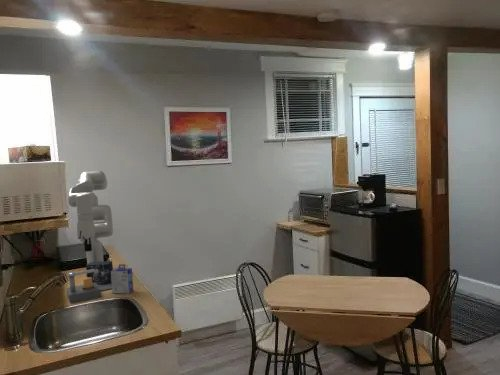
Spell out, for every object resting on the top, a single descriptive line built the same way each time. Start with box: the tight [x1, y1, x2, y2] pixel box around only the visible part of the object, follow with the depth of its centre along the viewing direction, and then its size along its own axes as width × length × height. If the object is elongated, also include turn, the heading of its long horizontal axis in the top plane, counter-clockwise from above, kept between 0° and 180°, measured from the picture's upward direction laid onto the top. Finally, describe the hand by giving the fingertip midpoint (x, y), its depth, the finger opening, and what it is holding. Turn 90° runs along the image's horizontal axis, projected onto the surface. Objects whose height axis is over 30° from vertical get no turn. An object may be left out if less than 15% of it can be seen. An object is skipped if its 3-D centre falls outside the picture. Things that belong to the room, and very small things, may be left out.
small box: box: [85, 260, 114, 286], centre depth 253 cm, size 13×7×12 cm, turn 90°
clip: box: [66, 267, 98, 278], centre depth 231 cm, size 15×4×2 cm, turn 118°
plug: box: [82, 276, 93, 290], centre depth 233 cm, size 5×5×9 cm
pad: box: [98, 283, 112, 292], centre depth 244 cm, size 9×9×1 cm
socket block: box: [66, 276, 102, 304], centre depth 232 cm, size 14×15×11 cm
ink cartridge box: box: [111, 263, 134, 294], centre depth 235 cm, size 10×6×14 cm, turn 78°
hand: (88, 250), depth 237 cm, fingers closed
